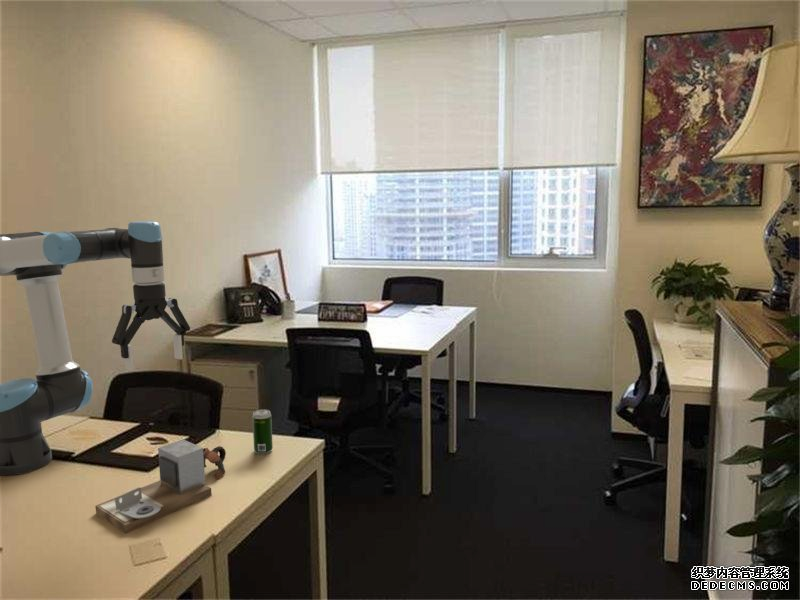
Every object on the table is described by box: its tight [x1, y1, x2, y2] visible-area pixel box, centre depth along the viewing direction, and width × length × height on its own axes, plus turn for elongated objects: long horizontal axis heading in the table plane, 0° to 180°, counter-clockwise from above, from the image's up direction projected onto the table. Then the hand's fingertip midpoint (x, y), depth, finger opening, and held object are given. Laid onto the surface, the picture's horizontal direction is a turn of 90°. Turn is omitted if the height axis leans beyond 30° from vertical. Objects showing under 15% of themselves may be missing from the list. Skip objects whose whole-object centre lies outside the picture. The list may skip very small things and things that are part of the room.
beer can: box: [252, 409, 274, 455], centre depth 182 cm, size 5×5×12 cm
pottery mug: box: [203, 445, 227, 480], centre depth 169 cm, size 12×9×8 cm
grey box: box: [157, 439, 206, 495], centre depth 157 cm, size 9×8×10 cm
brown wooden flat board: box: [95, 479, 212, 534], centre depth 152 cm, size 14×22×2 cm, turn 141°
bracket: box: [115, 486, 161, 519], centre depth 144 cm, size 7×10×4 cm, turn 56°
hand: (155, 364), depth 160 cm, fingers open, 13 cm apart
